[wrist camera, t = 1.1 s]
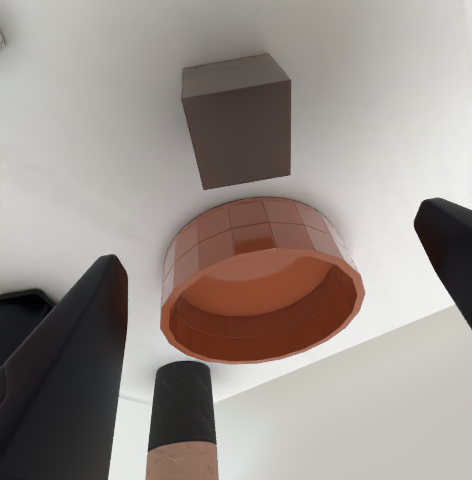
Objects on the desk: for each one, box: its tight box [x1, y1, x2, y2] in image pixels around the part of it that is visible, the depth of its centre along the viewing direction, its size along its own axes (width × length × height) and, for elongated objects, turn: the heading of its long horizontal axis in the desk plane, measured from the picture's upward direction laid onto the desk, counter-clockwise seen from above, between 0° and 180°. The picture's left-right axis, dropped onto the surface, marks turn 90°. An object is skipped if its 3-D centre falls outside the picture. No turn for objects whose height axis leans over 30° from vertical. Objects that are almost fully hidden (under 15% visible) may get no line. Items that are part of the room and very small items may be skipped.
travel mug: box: [146, 362, 219, 480], centre depth 32 cm, size 8×8×20 cm
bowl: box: [160, 197, 365, 364], centre depth 24 cm, size 15×15×5 cm
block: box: [182, 54, 291, 190], centre depth 15 cm, size 4×4×4 cm
